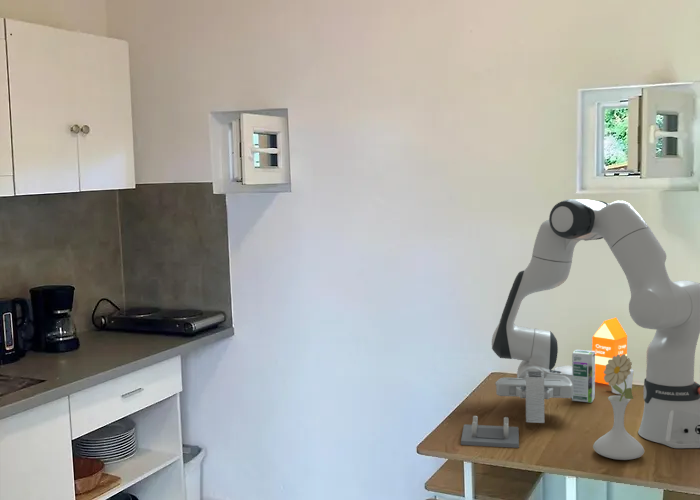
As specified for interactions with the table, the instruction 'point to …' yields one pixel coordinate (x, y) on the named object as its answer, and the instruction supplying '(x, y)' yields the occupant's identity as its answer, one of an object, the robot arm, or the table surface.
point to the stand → (490, 435)
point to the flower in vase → (618, 415)
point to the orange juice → (608, 346)
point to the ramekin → (565, 369)
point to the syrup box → (583, 375)
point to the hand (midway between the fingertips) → (535, 395)
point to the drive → (535, 397)
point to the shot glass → (622, 385)
